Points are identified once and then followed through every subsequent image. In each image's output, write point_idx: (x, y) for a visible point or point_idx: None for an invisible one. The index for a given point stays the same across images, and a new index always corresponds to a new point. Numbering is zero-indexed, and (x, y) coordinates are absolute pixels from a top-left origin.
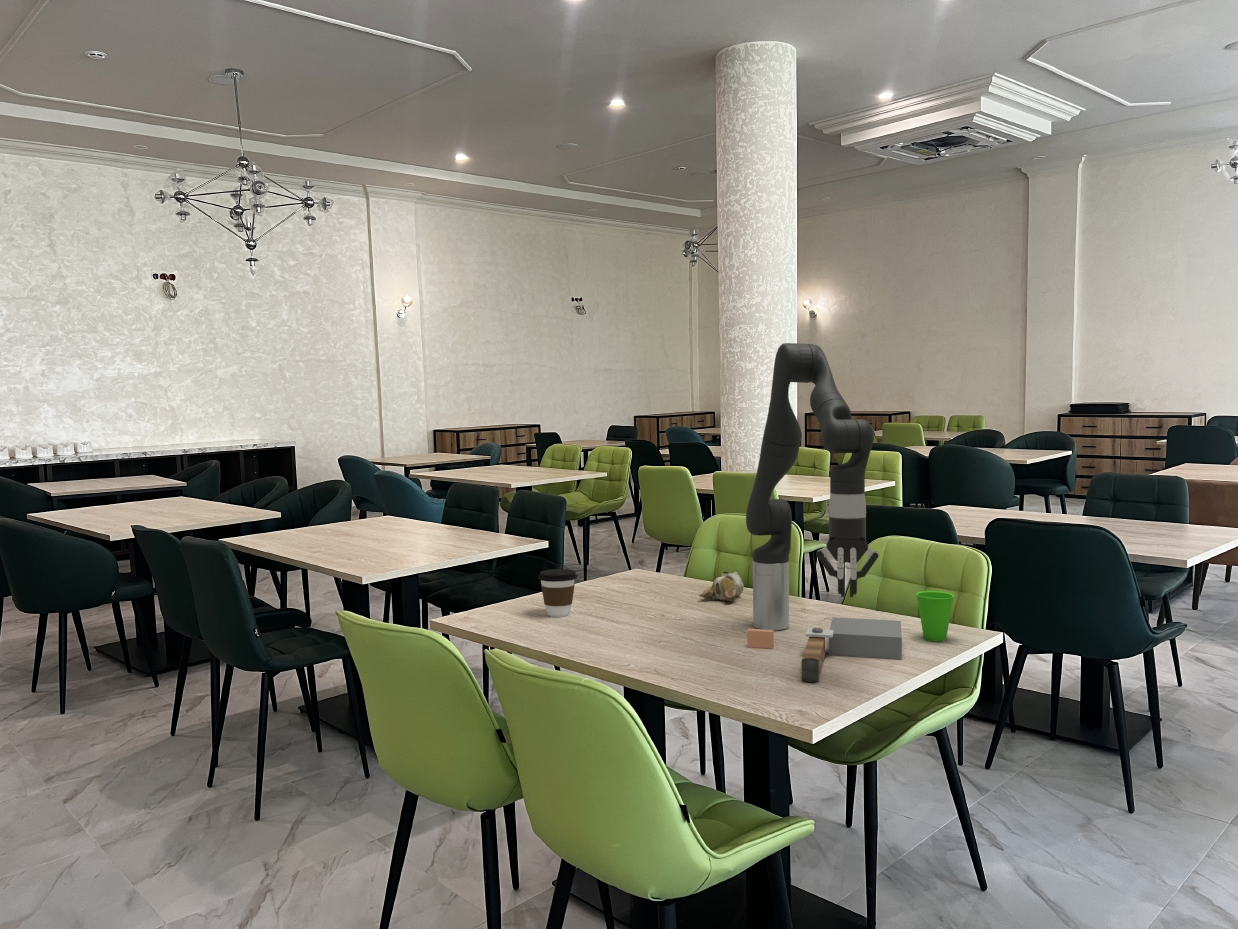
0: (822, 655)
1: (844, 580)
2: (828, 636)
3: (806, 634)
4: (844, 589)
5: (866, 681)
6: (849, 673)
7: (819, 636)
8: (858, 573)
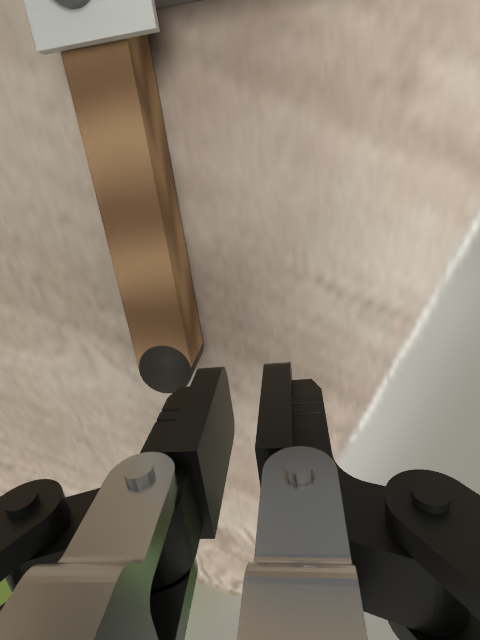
0: (165, 182)
1: (215, 531)
2: (140, 33)
3: (42, 51)
4: (227, 467)
5: (332, 298)
6: (273, 234)
7: (101, 41)
8: (371, 598)
